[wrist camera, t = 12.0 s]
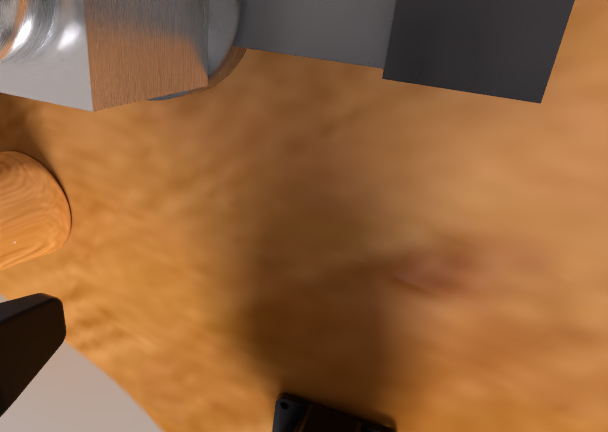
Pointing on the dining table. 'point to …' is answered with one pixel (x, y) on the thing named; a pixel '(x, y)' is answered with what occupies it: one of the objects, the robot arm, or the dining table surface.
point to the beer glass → (29, 210)
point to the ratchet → (400, 39)
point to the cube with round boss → (102, 50)
